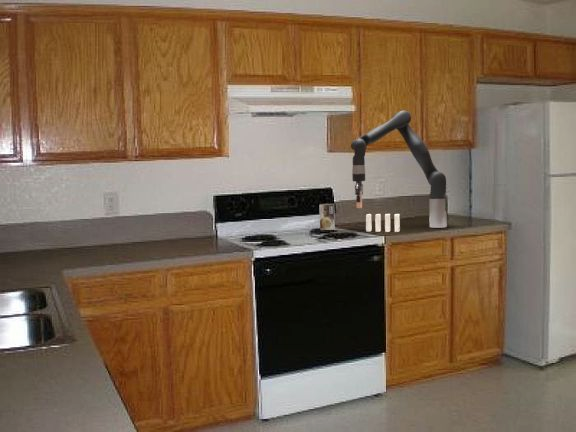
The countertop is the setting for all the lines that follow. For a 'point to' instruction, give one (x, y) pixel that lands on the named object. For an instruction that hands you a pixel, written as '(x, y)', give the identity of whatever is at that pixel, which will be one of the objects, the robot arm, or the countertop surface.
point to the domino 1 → (359, 204)
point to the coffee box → (327, 217)
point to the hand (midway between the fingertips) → (359, 201)
